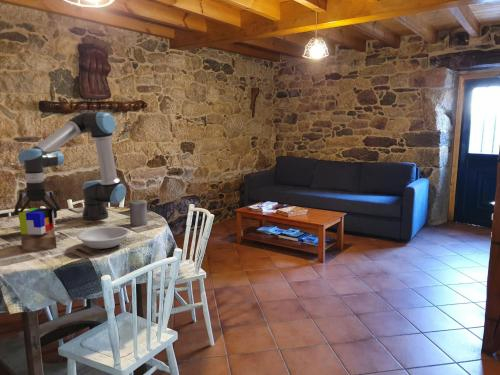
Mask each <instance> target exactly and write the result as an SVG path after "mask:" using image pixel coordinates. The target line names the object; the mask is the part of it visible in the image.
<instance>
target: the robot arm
mask: <svg viewBox="0 0 500 375" xmlns="http://www.w3.org/2000/svg"><path fill="white" fill-rule="evenodd" d="M116 127H117V126H116V120H115V118H114V117H113V115H111V113H109V112H105V111H90V112H89V111H86V112H82V113H79V114H77V115H75V116H73V117H72V118H70V119H68V120H67V121H65V123H64V126H62V127H61V128H59V129H57V130H55V132H53V133H52V134H51V135H49V136H47V137H46V138H44V139H42V141H40V142H39V143H37V144H36V145H35V146H33V147H32V148H25V149H24V150H21V151H20V152H18V156H17V159H18V160H17V161H18V162H19V164H21V165H24V166H23V167H24V174H25V175H24V176H25V182H26V183H25V185H26V186H25V187H26V192H23V191H22V192H19V193H18V194H19V196H18V200H17V203H16V205H15V208H14V211H13V213H14V214H18V215H19V213H20V212H23V211H25V210H26V208H27V207H28V205H29V204H30V203H31V202H41V201H42V202H43V203H44V204H46V205H47V207H48V208H51V209H52V220H53V225H54V226H55V225H56V219H57V217H58V211H61V209H62V208H61V206H60V204H59V203H58V201H57V199H56V198H55V195H54V194H53V193H54V191H53V190H50V191H46V188H45V187H46V186H45V181H44V180H45V176H44V168H51V167H52V168H53V167H59V166H61V165H63V164H64V162H65V156H64V154H63V153H62V151H59V150H58V149H60V148H61V147H62V146H64V145H65V144H66V143H68V142H69V141H70V140H72V139H73V138H74V137H78V136H80V135H83V134H87V133H89V134H90V137H91V139H93V140H94V143H95V149H96V155H97V160H98V164H99V170H100V171H99V172H100V175H101V176H100V177H101V179H96V180H90V181H84V182H83V184H82V185H83V186H82V192H83V202H84V206H83V211H82V214H81V217H82V218H81V219H82V220H85V221H99V220H100V221H101V220H104V219H107V218H109V212H108V209H107V207H106V204H105V203H110V204H120V203H121V202H123V201H124V199H125V197H126V195H127V188H126V186H125V185H124V184H123V183H121V179H120V178H119V177H118V175H117V169H116V163H115V157H114V152H113V146H112V145H113V144H112V140H111V139H112V137H113V133H114V132H115V130H116ZM46 195H47V196H48V197H49V198H50V199H51V201H52V203H53V204H52V203H51V202H50V201H49V199H47V198H46V197H45V196H46ZM25 196H26V197H27V198H28V199H27V201H26V202H25V203H24V205H22V207H21V208H20V206H21V204H22V202H23V199H24V198H25ZM19 208H20V210H19Z"/></svg>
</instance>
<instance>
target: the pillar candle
mask: <svg viewBox="0 0 500 375" xmlns="http://www.w3.org/2000/svg"><path fill="white" fill-rule="evenodd" d="M128 202H129V204H128V205H129V221H130V226H131V227H143V226H142V225H144V226H146V225H145V224H147V225H148V206H147V205H148V204H147V200H146V199H134V200H130V201H128Z"/></svg>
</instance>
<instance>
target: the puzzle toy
mask: <svg viewBox="0 0 500 375" xmlns="http://www.w3.org/2000/svg"><path fill="white" fill-rule="evenodd" d="M52 211H53V210H52V209H51V208H50V207H48V208H46V207H45V208H43V207H42V208H41V207H31V208H29V209H25V210H24V211H23V212H20V213H19V214H18V220H19V228H20V229H19V230H20V235H21V234H44V233H46V232H48V231H50V230H52V229H53V230H54V229H55V225H53V220H52Z"/></svg>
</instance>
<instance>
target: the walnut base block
mask: <svg viewBox="0 0 500 375" xmlns="http://www.w3.org/2000/svg"><path fill="white" fill-rule="evenodd" d="M20 236H21V237H20V241H21V242H20V243H21V250H22V254H25V252H26V253H32V251H33V252H38V251H46V250H52V249H57V237H56V232H55V230H54V229H52V230H50V231H48V232H46V233H44V234H21V233H20Z"/></svg>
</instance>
